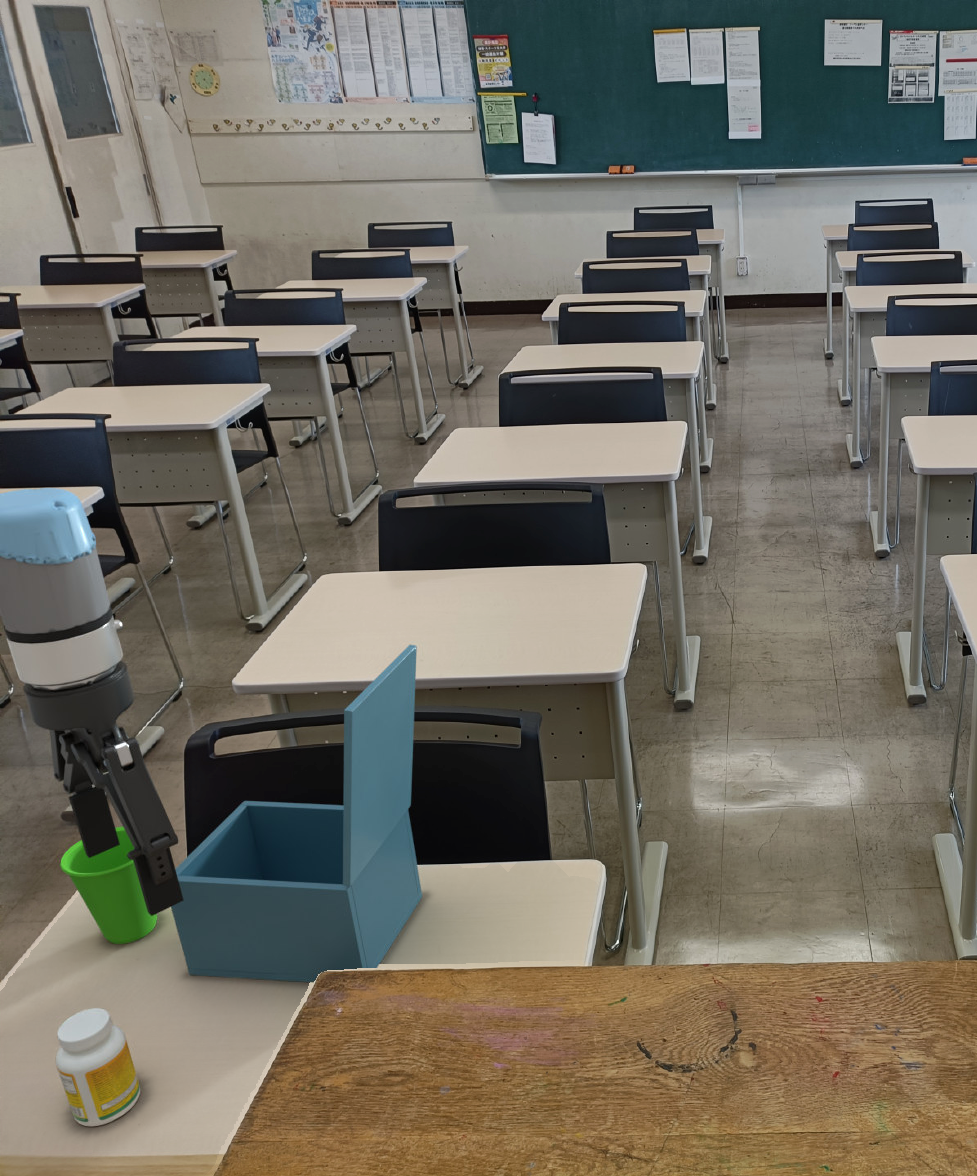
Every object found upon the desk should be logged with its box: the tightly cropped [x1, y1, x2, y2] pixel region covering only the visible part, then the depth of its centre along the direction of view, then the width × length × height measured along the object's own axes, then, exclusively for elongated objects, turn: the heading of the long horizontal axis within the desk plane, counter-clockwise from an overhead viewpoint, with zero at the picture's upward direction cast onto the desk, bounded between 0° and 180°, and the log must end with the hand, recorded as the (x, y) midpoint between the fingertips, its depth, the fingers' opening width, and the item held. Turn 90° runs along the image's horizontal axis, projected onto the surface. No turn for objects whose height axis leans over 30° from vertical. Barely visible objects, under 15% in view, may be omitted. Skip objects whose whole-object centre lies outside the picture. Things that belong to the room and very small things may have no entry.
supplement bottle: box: [55, 1007, 141, 1127], centre depth 95 cm, size 5×5×10 cm
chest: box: [170, 800, 423, 983], centre depth 116 cm, size 20×15×12 cm
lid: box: [343, 644, 418, 887], centre depth 109 cm, size 21×15×1 cm
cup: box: [59, 826, 158, 945], centre depth 117 cm, size 9×9×11 cm
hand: (133, 877), depth 96 cm, fingers open, 13 cm apart
